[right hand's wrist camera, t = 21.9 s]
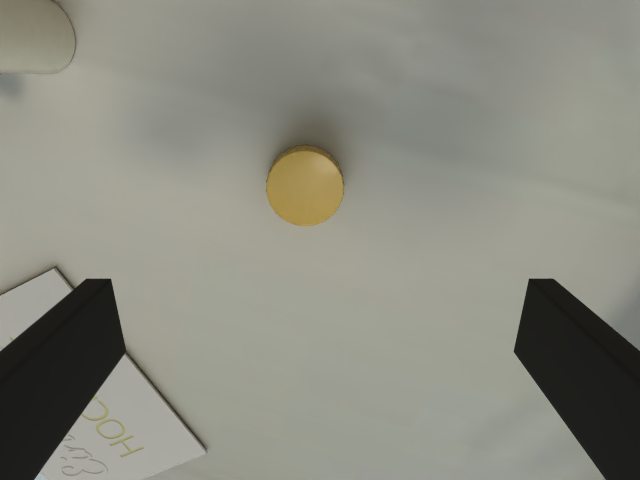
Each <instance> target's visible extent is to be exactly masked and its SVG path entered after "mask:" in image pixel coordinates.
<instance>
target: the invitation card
mask: <svg viewBox="0 0 640 480" xmlns="http://www.w3.org/2000/svg"><path fill="white" fill-rule="evenodd" d="M71 291H73V288H72V287H71V286H70V285H69V284H68V282H67V281H66V280H65V279H64V278H63V276H62V275H61V274H60V273H59V272H58V270H57V269H56V268H53V269H51V270H49V271H48V272H46V273H44V274H42V275H40V276H38V277H36V278H34V279H32V280H30V281H28V282H26V283H24V284H22V285H20V286H18V287H16V288H14V289H12V290H10V291H8V292H6V293H4V294H2V295H0V351H1V350H2V349H3V348H5V347H6V346H7V345H8V344H9V343H11V342H12V341H13V340H14V339H15V338H17V337H18V336H19V335H20V334H21V333H22V332H24V331H25V330H26V329H27V328H28V327H30V326H31V325H32V324H33V323H34V322H36V321H37V320H38V319H39V318H40V317H42V316H43V315H44V314H45V313H46V312H48V311H49V310H50V309H51V308H52V307H53V306H55V305H56V304H57V303H58V302H59V301H61V300H62V299H63V298H64V297H65V296H67V295H68V294H69V293H70V292H71ZM205 454H207V451H206V449H205V448H204V447H203V446H202V445H201V443H200V442H199V441H198V440H197V438H196V437H195V436H194V435H193V434H192V432H191V431H190V430H189V429H188V428H187V426H186V425H185V424H184V423H183V422H182V420H181V419H180V418H179V417H178V416H177V414H176V413H175V412H174V411H173V409H172V408H171V407H170V406H169V405H168V403H167V402H166V401H165V400H164V399H163V397H162V396H161V395H160V394H159V393H158V391H157V390H156V389H155V388H154V386H153V385H152V384H151V383H150V382H149V380H148V379H147V378H146V377H145V376H144V374H143V373H142V372H141V371H140V370H139V368H138V367H137V366H136V365H135V363H134V362H133V361H132V360H131V359H130V357H129V356H128V355H127V354H126V353H125V354H124V356H123V357H122V358H121V360H120V361H119V363H118V364H117V365H116V367H115V368H114V369H113V371H112V372H111V374H110V375H109V376H108V378H107V379H106V381H105V382H104V383H103V385H102V386H101V388H100V389H99V390H98V392H97V393H96V394H95V396H94V397H93V399H92V400H91V401H90V403H89V404H88V406H87V407H86V408H85V410H84V411H83V413H82V414H81V415H80V417H79V418H78V419H77V421H76V422H75V424H74V425H73V426H72V428H71V429H70V431H69V432H68V433H67V435H66V436H65V437H64V439H63V440H62V442H61V443H60V444H59V446H58V447H57V449H56V450H55V451H54V453H53V454H52V456H51V457H50V458H49V460H48V461H47V462H46V464H45V465H44V467H43V468H42V469H41V471H40V473H42V474H43V475H44V476H45V477H46V478H47V479H48V480H142V479H144V478H147V477H149V476H152V475H154V474H157V473H160V472H162V471H165V470H167V469H170V468H172V467H175V466H177V465H180V464H182V463H185V462H187V461H190V460H192V459H195V458H197V457H200V456H203V455H205Z"/></svg>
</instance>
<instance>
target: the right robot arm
mask: <svg viewBox="0 0 640 480" xmlns="http://www.w3.org/2000/svg"><path fill="white" fill-rule="evenodd" d="M125 353H126V348H125V343H124V339H123V334H122V329H121V324H120V320H119V315H118V310H117V305H116V301H115V296H114V291H113V286H112V282H111V279H86V280H84V281H83V282H82V283H81V284H80V285H79V286H77V287H76V288H75V289H74V290H73V291H71V292H70V293H69V294H68V295H67V296H65V297H64V298H63V299H62V300H61V301H59V302H58V303H57V304H56V305H55V306H53V307H52V308H51V309H50V310H49V311H48V312H46V313H45V314H44V315H43V316H42V317H40V318H39V319H38V320H37V321H36V322H34V323H33V324H32V325H31V326H30V327H28V328H27V329H26V330H25V331H24V332H22V333H21V334H20V335H19V336H18V337H17V338H15V339H14V340H13V341H12V342H11V343H9V344H8V345H7V346H6V347H5V348H3V349H2V350H1V351H0V480H34V479H35V478H36V476H37V475H38V474H39V472H40V471H41V469H42V468H43V467H44V465H45V464H46V462H47V461H48V460H49V458H50V457H51V456H52V454H53V453H54V451H55V450H56V449H57V447H58V446H59V444H60V443H61V442H62V440H63V439H64V437H65V436H66V435H67V433H68V432H69V431H70V429H71V428H72V426H73V425H74V424H75V422H76V421H77V419H78V418H79V417H80V415H81V414H82V413H83V411H84V410H85V408H86V407H87V406H88V404H89V403H90V401H91V400H92V399H93V397H94V396H95V394H96V393H97V392H98V390H99V389H100V388H101V386H102V385H103V383H104V382H105V381H106V379H107V378H108V376H109V375H110V374H111V372H112V371H113V369H114V368H115V367H116V365H117V364H118V363H119V361H120V360H121V358H122V357H123V356H124V354H125ZM514 353H515V354H516V356H517V357H518V358H519V360H520V361H521V363H522V364H523V365H524V367H525V368H526V369H527V371H528V372H529V374H530V375H531V376H532V378H533V379H534V381H535V382H536V383H537V385H538V386H539V388H540V389H541V390H542V392H543V393H544V394H545V396H546V397H547V399H548V400H549V401H550V403H551V404H552V406H553V407H554V408H555V410H556V411H557V413H558V414H559V415H560V417H561V418H562V419H563V421H564V422H565V424H566V425H567V426H568V428H569V429H570V431H571V432H572V433H573V435H574V436H575V437H576V439H577V440H578V442H579V443H580V444H581V446H582V447H583V449H584V450H585V451H586V453H587V454H588V456H589V457H590V458H591V460H592V461H593V462H594V464H595V465H596V467H597V468H598V469H599V471H600V472H601V474H602V475H603V476H604V478H605V479H606V480H640V351H639V350H638V349H637V348H635V347H634V346H633V345H632V344H631V343H629V342H628V341H627V340H626V339H625V338H623V337H622V336H621V335H620V334H619V333H618V332H616V331H615V330H614V329H613V328H612V327H610V326H609V325H608V324H607V323H606V322H604V321H603V320H602V319H601V318H600V317H598V316H597V315H596V314H595V313H594V312H592V311H591V310H590V309H589V308H588V307H587V306H585V305H584V304H583V303H582V302H581V301H579V300H578V299H577V298H576V297H575V296H573V295H572V294H571V293H570V292H569V291H567V290H566V289H565V288H564V287H563V286H561V285H560V284H559V283H558V282H557V281H556V280H554V279H529V282H528V286H527V291H526V296H525V301H524V305H523V310H522V315H521V320H520V324H519V329H518V334H517V339H516V343H515V348H514Z"/></svg>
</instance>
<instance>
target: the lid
mask: <svg viewBox="0 0 640 480" xmlns="http://www.w3.org/2000/svg"><path fill="white" fill-rule="evenodd" d="M342 177H343V175H342V172H341V170H339V166H338V163H337V162H335V160H334V159H333V157H332V155H329V154H328V153H327V152H325V150H322V149H319V148H317V146H315V147H313V146H308V145H306V146H298V145H297V147H294V148H291V149H290V148H288V150H287V151H285V152H284V153H283V154H282V153H281V154H280V156H279V157H278V159H277V160H276V159H275V161H274V163H273V167H271V168H270V170H269V176H268V178H267V181H266V183H267V189H266V192H267V196H268V200H269V202H270V205H271V206H272V208H273V210H274V211H275V212H276V213H277V214H278V215H279V216H280V217H281V218H282V219H284V220H286V221H287V222H290V223H292V224H295V225H300V226H310V225H316V224H319V223H321V222H323V221H325V220H327V219H328V218H330V217H331V216H332V215H333V214H334V213H335V212H336V210H337V209H338V207H339V205H340V203H341V201H342V197H343V195H344V192H343V191H344V182H343V179H342Z"/></svg>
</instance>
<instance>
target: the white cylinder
mask: <svg viewBox="0 0 640 480" xmlns="http://www.w3.org/2000/svg"><path fill="white" fill-rule="evenodd" d="M74 51H75V35H74V30H73V27H72V25H71V23H70V21H69V19H68V17H67V15H66V14H65V13H64V11H63V10H62V9H61V8H60V7H59V6H58V5H57V4H56V3H55V2H54V1H52V0H0V73H8V74H53V73H56V72H59V71H61V70H62V69H64V68H65V67H66V66H67V65H68V64H69V63H70V61H71V59H72V57H73V55H74Z"/></svg>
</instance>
